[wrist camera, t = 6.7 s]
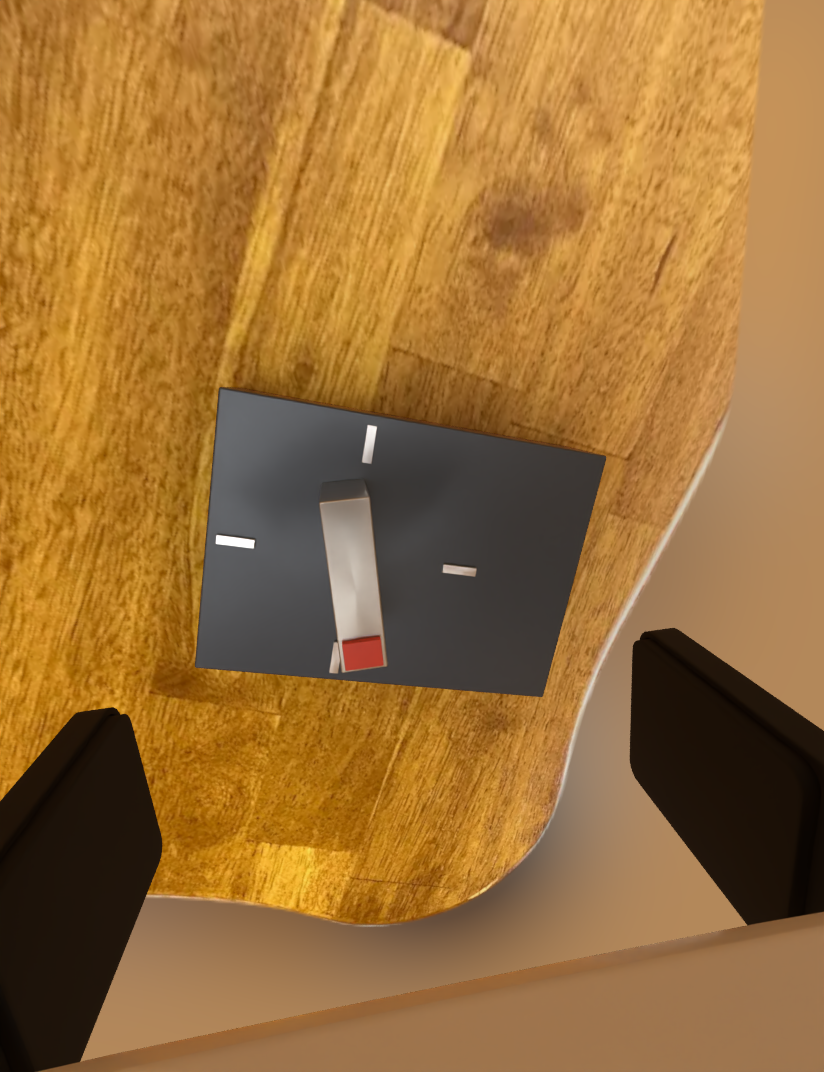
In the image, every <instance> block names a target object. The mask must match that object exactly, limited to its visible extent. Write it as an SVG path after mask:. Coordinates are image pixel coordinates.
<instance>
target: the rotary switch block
mask: <svg viewBox="0 0 824 1072" xmlns="http://www.w3.org/2000/svg"><path fill="white" fill-rule="evenodd" d="M605 461H606V456H604V455H600V454H596V453H592V452H588V451H583V450H579V449H575V448H571V447H566V446H560V445H555V444H549V443H544V442H538V441H532V440H527V439H521V438H516V437H510V436H505V435H499V434H493V433H488V432H482V431H477V430H471V429H466V428H460V427H454V426H449V425H443V424H438V423H432V422H427V421H421V420H415V419H410V418H404V417H399V416H393V415H388V414H382V413H376V412H371V411H365V410H360V409H354V408H349V407H343V406H337V405H332V404H326V403H321V402H315V401H310V400H304V399H298V398H293V397H287V396H282V395H276V394H271V393H265V392H259V391H254V390H248V389H243V388H233V387H220V388H219V394H218V405H217V417H216V428H215V440H214V452H213V463H212V475H211V486H210V498H209V509H208V521H207V532H206V544H205V555H204V567H203V578H202V590H201V601H200V613H199V625H198V636H197V648H196V659H195V667H196V668H207V669H218V670H230V671H242V672H254V673H265V674H277V675H289V676H301V677H312V678H324V679H336V680H348V681H359V682H371V683H383V684H395V685H406V686H418V687H430V688H442V689H454V690H465V691H477V692H489V693H501V694H512V695H524V696H536V697H542V696H543V693H544V690H545V686H546V682H547V678H548V675H549V671H550V667H551V663H552V660H553V656H554V652H555V648H556V645H557V641H558V637H559V633H560V630H561V626H562V622H563V618H564V615H565V611H566V607H567V603H568V600H569V596H570V592H571V588H572V585H573V581H574V577H575V573H576V570H577V566H578V562H579V558H580V555H581V551H582V547H583V543H584V540H585V536H586V532H587V528H588V525H589V521H590V517H591V513H592V510H593V506H594V502H595V498H596V495H597V491H598V487H599V483H600V480H601V476H602V472H603V468H604V465H605ZM356 479H364V481H365V484H366V487H367V490H368V493H369V496H370V502H371V511H372V520H373V530H374V539H375V549H376V558H377V568H378V577H379V586H380V596H381V605H382V615H383V624H384V634H385V643H386V653H387V662H388V665H387V666H386V667H379V668H372V669H366V670H359V671H352V672H345V673H342V672H341V665H340V657H339V650H338V642H337V635H336V627H335V620H334V613H333V605H332V598H331V590H330V583H329V575H328V568H327V560H326V553H325V545H324V538H323V530H322V523H321V516H320V508H319V499H320V492H321V485H322V483H327V482H337V481H346V480H356Z"/></svg>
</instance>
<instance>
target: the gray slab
mask: <svg viewBox="0 0 824 1072" xmlns="http://www.w3.org/2000/svg"><path fill="white" fill-rule="evenodd" d="M319 508H320V516H321V523H322V530H323V538H324V545H325V553H326V560H327V568H328V575H329V583H330V590H331V598H332V605H333V613H334V620H335V627H336V635H337V642H338V650H339V657H340V665H341V672H342V673H345V672H352V671H359V670H366V669H372V668H379V667H386V666H387V665H388V662H387V653H386V643H385V634H384V624H383V615H382V605H381V596H380V586H379V577H378V568H377V558H376V549H375V539H374V530H373V520H372V511H371V502H370V496H369V493H368V490H367V487H366V484H365V481H364V479H356V480H346V481H337V482H327V483H322V485H321V492H320V499H319Z"/></svg>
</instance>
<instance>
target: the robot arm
mask: <svg viewBox="0 0 824 1072" xmlns="http://www.w3.org/2000/svg"><path fill="white" fill-rule="evenodd" d="M630 732H631V733H630V764H631V768H632V772H633V774H634V776H635V778H636V780H637V781H638V782H639V784H640V785H641V786H642V788H643V789H644V790H645V792H646V793H647V794H648V796H649V797H650V798H651V800H652V801H653V802H654V803H655V805H656V806H657V807H658V808H659V810H660V811H661V812H662V814H663V815H664V817H666V819H667V820H668V822H669V823H670V824H671V826H672V827H673V828H674V830H675V831H676V832H677V833H678V835H679V836H680V837H681V839H682V840H683V841H684V842H685V844H686V845H687V847H688V848H689V849H690V850H691V852H692V853H693V854H694V856H695V857H696V858H697V860H698V861H699V862H700V864H701V865H702V866H703V868H704V869H705V870H706V872H707V873H708V874H709V875H710V877H711V878H712V879H713V881H714V882H715V883H716V884H717V886H718V887H719V889H720V890H721V891H722V892H723V894H724V895H725V896H726V898H727V899H728V900H729V902H730V903H731V904H732V905H733V907H734V908H735V909H736V911H737V912H738V913H739V915H740V916H741V917H742V918H743V920H744V921H745V923H746V924H747V926H742V927H737V928H732V929H727V930H722V931H716V932H711V933H706V934H701V935H696V936H692V937H686V938H681V939H676V940H671V941H665V942H660V943H655V944H650V945H645V946H640V947H635V948H630V949H624V950H619V951H614V952H609V953H604V954H599V955H594V956H589V957H584V958H579V959H574V960H569V961H564V962H559V963H554V964H549V965H544V966H539V967H534V968H529V969H524V970H519V971H514V972H509V973H504V974H499V975H494V976H489V977H484V978H479V979H474V980H469V981H464V982H459V983H455V984H450V985H445V986H440V987H435V988H431V989H425V990H420V991H415V992H410V993H405V994H401V995H396V996H391V997H386V998H381V999H376V1000H371V1001H366V1002H362V1003H357V1004H351V1005H347V1006H342V1007H337V1008H332V1009H327V1010H322V1011H317V1012H313V1013H308V1014H303V1015H298V1016H294V1017H289V1018H284V1019H280V1020H275V1021H270V1022H265V1023H260V1024H255V1025H251V1026H246V1027H242V1028H236V1029H232V1030H227V1031H222V1032H217V1033H212V1034H208V1035H203V1036H198V1037H193V1038H189V1039H184V1040H179V1041H174V1042H170V1043H165V1044H161V1045H156V1046H150V1047H146V1048H141V1049H136V1050H132V1051H127V1052H122V1053H117V1054H113V1055H108V1056H104V1057H99V1058H95V1059H91V1060H86V1061H82V1062H80V1061H81V1058H82V1056H83V1053H84V1050H85V1048H86V1045H87V1043H88V1040H89V1038H90V1035H91V1033H92V1030H93V1028H94V1025H95V1023H96V1020H97V1018H98V1015H99V1013H100V1010H101V1008H102V1005H103V1003H104V1000H105V998H106V995H107V993H108V990H109V988H110V985H111V982H112V980H113V978H114V975H115V972H116V970H117V967H118V965H119V962H120V960H121V957H122V955H123V952H124V950H125V947H126V945H127V942H128V940H129V937H130V935H131V932H132V930H133V927H134V925H135V922H136V920H137V917H138V915H139V912H140V909H141V907H142V905H143V902H144V900H145V897H146V895H147V892H148V890H149V887H150V885H151V882H152V880H153V877H154V874H155V872H156V869H157V867H158V864H159V862H160V858H161V853H162V837H161V833H160V829H159V825H158V822H157V818H156V814H155V810H154V806H153V803H152V799H151V795H150V791H149V787H148V784H147V780H146V776H145V772H144V769H143V765H142V761H141V757H140V753H139V750H138V746H137V742H136V738H135V734H134V731H133V727H132V723H131V720H130V718H129V716H128V715H126V714H122V715H120V713H119V712H118V710H117V709H115V708H113V707H112V708H105V709H98V710H91V711H83V712H78V713H76V714H75V715H74V716H73V717H72V718H71V719H70V720H69V721H68V722H67V724H66V725H65V726H64V727H63V728H62V729H61V731H60V732H59V733H58V734H57V735H56V737H55V738H54V739H53V740H52V741H51V742H50V744H49V745H48V746H47V747H46V748H45V749H44V751H43V752H42V753H41V754H40V755H39V757H38V758H37V759H36V760H35V761H34V762H33V764H32V765H31V766H30V767H29V768H28V769H27V771H26V772H25V773H24V774H23V775H22V776H21V778H20V779H19V780H18V781H17V782H16V784H15V785H14V786H13V787H12V788H11V789H10V791H9V792H8V793H7V794H6V795H5V796H4V798H3V799H2V800H1V801H0V1072H824V731H823V730H822V729H820V728H819V727H817V726H816V725H814V724H813V723H812V722H810V721H808V720H807V719H806V718H804V717H803V716H801V715H800V714H799V713H797V712H795V711H794V710H793V709H791V708H790V707H788V706H787V705H786V704H784V703H783V702H781V701H780V700H778V699H777V698H776V697H774V696H773V695H771V694H770V693H768V692H767V691H765V690H764V689H763V688H761V687H760V686H758V685H757V684H755V683H754V682H753V681H751V680H750V679H748V678H747V677H745V676H744V675H743V674H741V673H740V672H738V671H737V670H735V669H734V668H732V667H731V666H730V665H728V664H727V663H725V662H724V661H722V660H721V659H720V658H718V657H717V656H715V655H714V654H712V653H711V652H710V651H708V650H706V649H705V648H704V647H702V646H701V645H699V644H698V643H696V642H695V641H694V640H692V639H691V638H689V637H688V636H686V635H685V634H684V633H682V632H681V631H679V630H678V629H675V628H669V629H662V630H655V631H648V632H644V633H643V634H642V635H641V637H640V640H638V641H636V642H635V643H634V645H633V657H632V693H631V730H630Z"/></svg>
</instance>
